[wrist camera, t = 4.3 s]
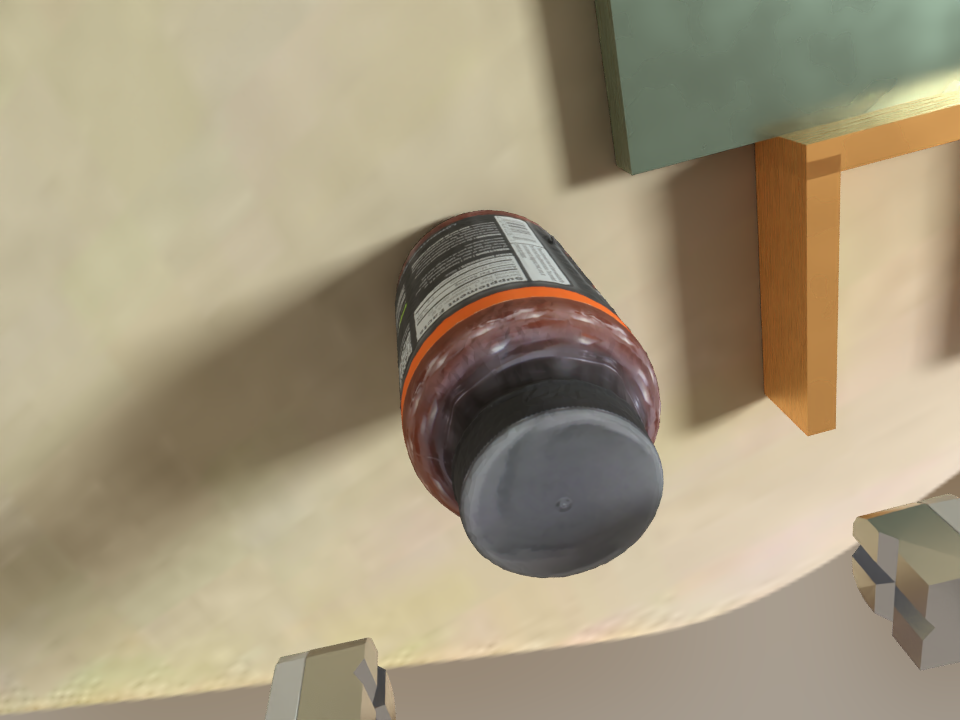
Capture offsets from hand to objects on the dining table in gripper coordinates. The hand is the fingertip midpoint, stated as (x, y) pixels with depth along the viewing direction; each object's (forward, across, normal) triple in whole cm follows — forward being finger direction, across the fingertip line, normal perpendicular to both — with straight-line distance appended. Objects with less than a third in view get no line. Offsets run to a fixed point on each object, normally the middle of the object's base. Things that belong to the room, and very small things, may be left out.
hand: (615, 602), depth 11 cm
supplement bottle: (+14, +1, -1) cm, 14 cm away
